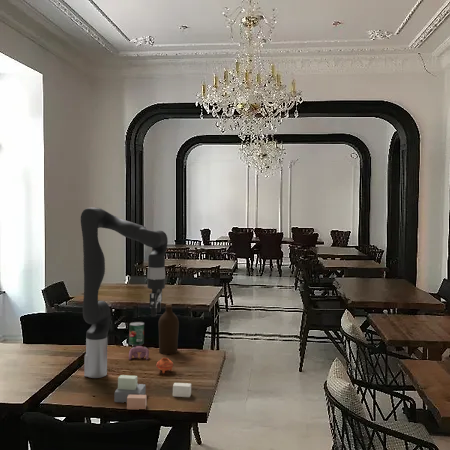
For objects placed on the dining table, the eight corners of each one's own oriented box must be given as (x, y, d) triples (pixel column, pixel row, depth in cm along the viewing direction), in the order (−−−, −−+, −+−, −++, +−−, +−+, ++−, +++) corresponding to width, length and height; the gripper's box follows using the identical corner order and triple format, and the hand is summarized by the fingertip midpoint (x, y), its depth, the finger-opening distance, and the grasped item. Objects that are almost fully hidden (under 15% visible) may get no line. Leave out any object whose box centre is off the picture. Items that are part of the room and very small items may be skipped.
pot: (169, 366, 252) (171, 354, 250) (174, 376, 245) (176, 363, 243) (153, 368, 248) (155, 355, 247) (157, 377, 242) (159, 364, 240)
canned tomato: (126, 344, 289) (126, 324, 288) (135, 340, 296) (135, 321, 295) (138, 346, 285) (138, 326, 285) (146, 342, 292) (147, 323, 292)
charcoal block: (114, 401, 209) (114, 392, 209) (121, 392, 219) (121, 383, 219) (139, 403, 208) (139, 393, 208) (145, 393, 218) (145, 384, 218)
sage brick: (117, 389, 212) (117, 377, 212) (120, 385, 215) (120, 375, 215) (135, 389, 211) (135, 378, 211) (137, 386, 215) (137, 375, 215)
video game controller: (148, 361, 266) (149, 346, 268) (148, 359, 262) (148, 345, 264) (129, 360, 265) (129, 346, 268) (128, 359, 261) (128, 345, 264)
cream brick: (172, 396, 216) (172, 385, 216) (174, 393, 220) (174, 382, 219) (189, 397, 216) (189, 386, 215) (191, 394, 219) (191, 383, 219)
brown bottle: (165, 355, 269) (165, 307, 268) (154, 350, 278) (154, 303, 276) (182, 352, 276) (183, 304, 275) (171, 347, 284) (171, 301, 283)
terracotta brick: (126, 409, 202) (126, 397, 202) (128, 405, 206) (128, 394, 206) (145, 409, 202) (145, 398, 202) (146, 406, 206) (146, 394, 206)
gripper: (151, 274, 236) (150, 310, 236) (143, 279, 221) (143, 317, 222) (168, 275, 235) (167, 311, 236) (161, 280, 221) (160, 318, 222)
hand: (155, 314), depth 229 cm, fingers open, 8 cm apart
